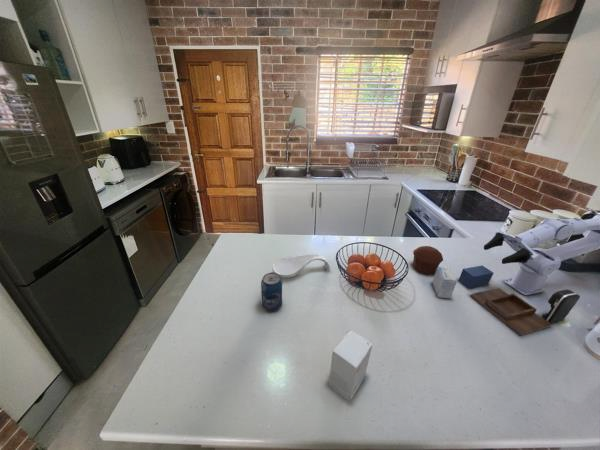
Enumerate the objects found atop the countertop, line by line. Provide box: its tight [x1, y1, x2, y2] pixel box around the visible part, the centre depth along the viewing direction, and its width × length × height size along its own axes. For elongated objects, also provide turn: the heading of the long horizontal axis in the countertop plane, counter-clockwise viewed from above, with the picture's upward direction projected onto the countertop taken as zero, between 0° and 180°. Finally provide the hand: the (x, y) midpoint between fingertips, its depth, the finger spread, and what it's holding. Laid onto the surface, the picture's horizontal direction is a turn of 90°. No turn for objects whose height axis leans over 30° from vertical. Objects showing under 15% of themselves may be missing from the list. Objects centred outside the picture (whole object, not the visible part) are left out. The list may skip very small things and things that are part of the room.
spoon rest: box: [272, 253, 331, 279], centre depth 101 cm, size 24×12×7 cm, turn 103°
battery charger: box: [541, 289, 581, 323], centre depth 82 cm, size 7×4×11 cm, turn 103°
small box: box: [328, 329, 374, 402], centre depth 60 cm, size 8×6×13 cm
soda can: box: [260, 272, 283, 313], centre depth 82 cm, size 7×7×12 cm
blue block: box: [457, 265, 495, 289], centre depth 99 cm, size 10×5×6 cm, turn 106°
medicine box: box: [431, 266, 458, 300], centre depth 93 cm, size 8×4×9 cm, turn 168°
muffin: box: [412, 245, 444, 275], centre depth 105 cm, size 12×11×10 cm
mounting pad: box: [470, 288, 553, 337], centre depth 86 cm, size 14×18×3 cm
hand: (493, 254), depth 87 cm, fingers open, 7 cm apart
